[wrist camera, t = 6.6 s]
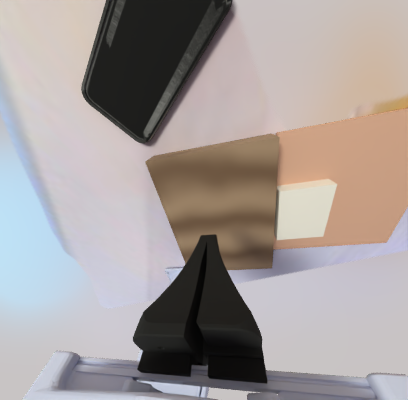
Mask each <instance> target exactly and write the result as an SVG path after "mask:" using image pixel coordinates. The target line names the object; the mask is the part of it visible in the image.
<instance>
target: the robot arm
mask: <svg viewBox="0 0 408 400" xmlns="http://www.w3.org/2000/svg"><path fill="white" fill-rule="evenodd" d="M165 272H166V274H167V276H168V278H169V279H170V285H169V287H168V288H167V289H166V290H165V291H164V292H163V293H162V294H161V295H160V297H159V298H158V299H157V300H156V301H155V302H153V303H152V304H151V305H150V306H149V307H148V308H147V309H146V310H145V311H144V312H143V315H142V317H141V318H140V321H139V323H138V326H137V328H136V331H135V334H134V337H133V341H134V343H135V344H136V345H137V346H138V347H139V348H140V352H139V355H138V359H137V361H131V360H118V359H103V358H91V357H80V356H79V355H78V354H76V353H73V352H66V351H56V352H54V354H53V355H52V357H51V358H50V360H49V361H48V363H47V364H46V366H45V367H44V369H43V370H42V372H41V373H40V375H39V376H38V377H37V379H36V380H35V382H34V383H33V385H32V386H31V388H30V389H29V391H28V392H27V393H26V395H25V396H24V398H23V399H22V400H216V399H210V398H207V395H208V391H209V387H211V388H221V389H232V390H242V391H252V392H263V393H249V394H248V395H247V399H248V400H408V376H406V375H405V374H390V373H371V374H369V375H367V377H366V378H362V377H349V376H335V375H321V374H308V373H295V372H294V373H293V372H281V371H280V372H279V371H267V370H266V369H265V364H264V356H263V351H262V336H261V333H260V330H259V328H258V326H257V324H256V322H255V319H254V317H253V315H252V313H251V311H250V310H249V308H248V307H247V305H246V304H245V302H244V301H243V299H242V297H241V296H240V294H239V292H238V291H237V289H236V287H235V285H234V283H233V282H232V280H231V278H230V276H229V274H228V272H227V269H226V267H225V265H224V262H223V260H222V257H221V254H220V251H219V245H218V240H217V235H216V234H212V235H201V236H200V238H199V241H198V243H197V245H196V247H195V249H194V251H193V253H192V254H191V256H190V258H189V259H188V261H187V263H186V264H185V266H184V267H183V268H168V269H166V270H165ZM277 394H278V395H277Z"/></svg>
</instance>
